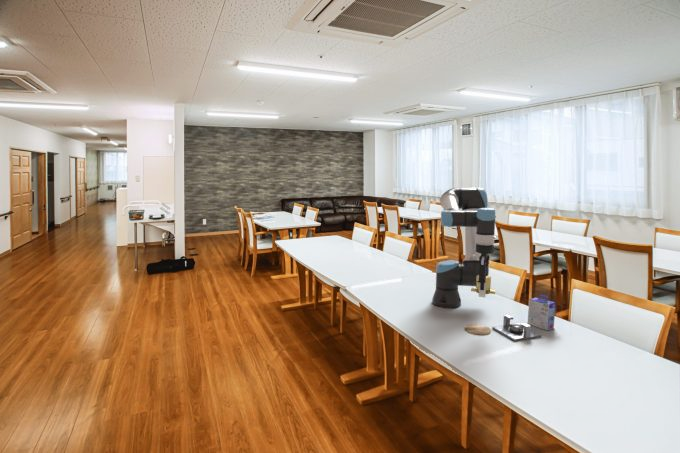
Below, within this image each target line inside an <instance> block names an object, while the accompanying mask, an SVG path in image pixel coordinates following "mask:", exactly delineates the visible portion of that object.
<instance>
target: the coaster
mask: <svg viewBox="0 0 680 453" xmlns="http://www.w3.org/2000/svg"><path fill="white" fill-rule="evenodd" d="M464 330H465V331H466V332H468V334H473V335H477V336H478V335H479V336H486V335H490V334H491V332H492V329H491V328H490V327H489V326H487V325H484V324H479V323H470V324H467V325H465V326H464Z"/></svg>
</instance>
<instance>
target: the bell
mask: <svg viewBox="0 0 680 453" xmlns="http://www.w3.org/2000/svg"><path fill="white" fill-rule="evenodd" d="M477 281H479V275H478V276H477V278H476V286H475V287H471V289H470V292H476V293H478V294H479V282H477ZM485 283H486V294H485V295H495V294H496V290H494V289H491V286H492V285H491V284H492V277H491V276H489V275H488V276H487V275H486V282H485Z"/></svg>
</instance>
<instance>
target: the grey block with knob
mask: <svg viewBox="0 0 680 453" xmlns="http://www.w3.org/2000/svg"><path fill="white" fill-rule="evenodd" d="M512 320H514V316H512V315H510V314H504V315H503V320H502V321H503V322H502V324H503V325H496V326H492V329H491V330H494V331H496V332H497V333H498V334H501V335H502V336H504V337H506V338H508V339H509V340H511V341H513V342H519V341H525V340H531V339H538V338H542V336H543V335H542V334H540V333H538V332H536V331H534V330H533V329H532V325H530V324H527V322H523V323H519V322H515V323H511V321H512Z"/></svg>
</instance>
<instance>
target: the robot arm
mask: <svg viewBox="0 0 680 453" xmlns="http://www.w3.org/2000/svg"><path fill="white" fill-rule="evenodd" d="M439 203H440V206H441V207H442V209H443V210H442V211H441V212H440V224H441V225H440V226H442V227H448V228H452V227H454V228H456V227H458V228H459V227H461V228H462V227H463V228H464V234H465V236H464V238H465V240H464V243H465V244H464V246H465V249H464V250H465V251H464V252H465V257H464V258H463V260H462V263H460V262H459V261H458V260H453V259H451V260H443V261H439V262H438V263H437V264H436V266H435V267H436V268H435V273H436V274H435V275H436V277H435V290H434V293H433V296H432V298H431V299H432V300H431V303H432V304H433V305H434V306H437V307H440V308H444V309H445V308H448V309H453V308H458V307H461V306H462V300H461V296H460V293H459V286H460V287H463V286H465V287H476V278H477V276H478V275H479V281H477V282H479V293H478V297H480V298H486V295H487V294H486V283H485V282H486V275H487V276H489V274H490V268H489V267H490V266H489V265H490V258H491V257H490V254H493V253H494V252H495V245H494V244H495V240H496V238H497V236H495V233H496V232H495V229H496V218H497V216H496V209H495V208H492V207H488V194H487V191H486V190H485V189H484V188H483V187H453V188H450V189H448V190H445V192H443V193H442V195H441V196H440V200H439ZM461 209H462V210H461Z"/></svg>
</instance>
